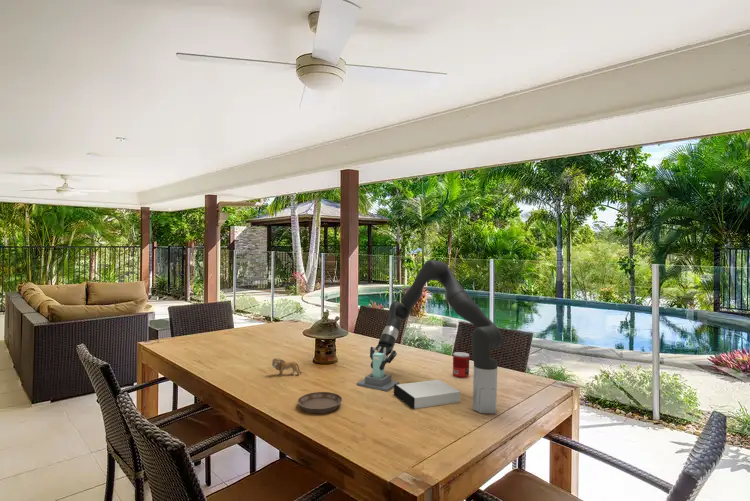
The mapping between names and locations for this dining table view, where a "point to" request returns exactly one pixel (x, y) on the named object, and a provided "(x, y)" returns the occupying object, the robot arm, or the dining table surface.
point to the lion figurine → (285, 366)
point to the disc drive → (426, 393)
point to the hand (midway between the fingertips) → (376, 368)
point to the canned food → (461, 364)
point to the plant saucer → (319, 402)
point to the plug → (378, 365)
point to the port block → (378, 382)
